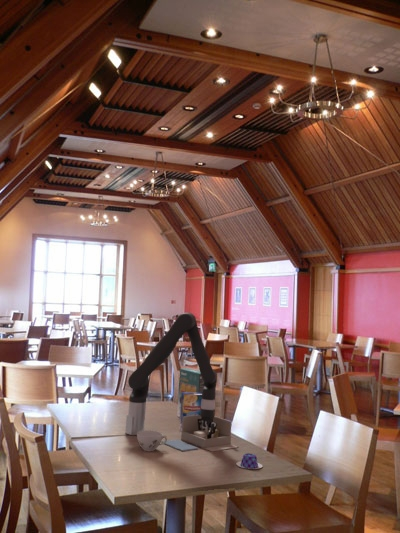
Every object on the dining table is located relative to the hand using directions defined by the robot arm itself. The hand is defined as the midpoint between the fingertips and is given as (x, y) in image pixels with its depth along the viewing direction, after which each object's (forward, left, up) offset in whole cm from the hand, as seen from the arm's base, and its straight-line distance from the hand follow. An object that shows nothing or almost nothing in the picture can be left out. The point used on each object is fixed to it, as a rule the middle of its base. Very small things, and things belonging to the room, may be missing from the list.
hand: (205, 440), depth 294 cm
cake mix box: (+26, +48, -1) cm, 55 cm away
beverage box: (+4, +19, -1) cm, 19 cm away
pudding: (-8, -42, -1) cm, 43 cm away
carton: (0, -3, -1) cm, 3 cm away
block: (-1, 0, 0) cm, 1 cm away
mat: (-17, 0, -1) cm, 17 cm away
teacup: (-34, 0, -1) cm, 34 cm away
